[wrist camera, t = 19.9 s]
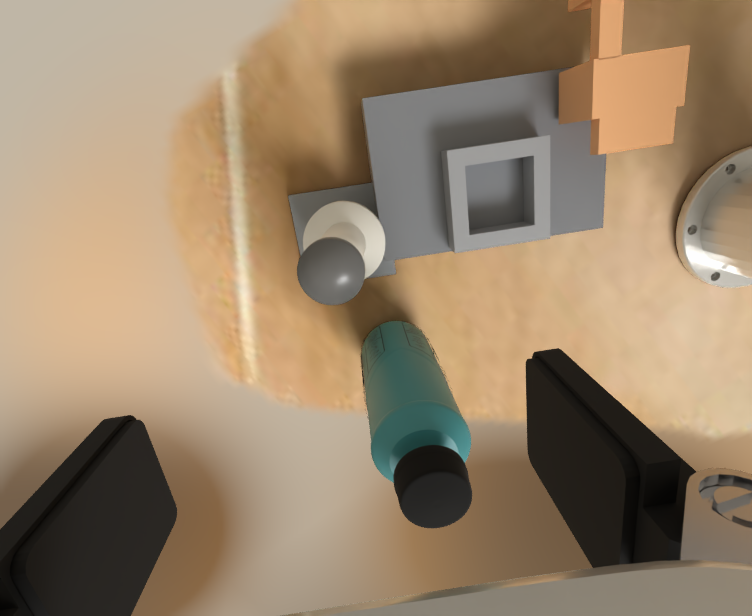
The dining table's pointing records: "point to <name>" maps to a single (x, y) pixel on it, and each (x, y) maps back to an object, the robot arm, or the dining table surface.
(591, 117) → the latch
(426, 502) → the beverage bottle
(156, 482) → the robot arm
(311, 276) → the plug
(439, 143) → the grey base plate
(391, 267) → the mat
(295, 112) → the dining table surface
